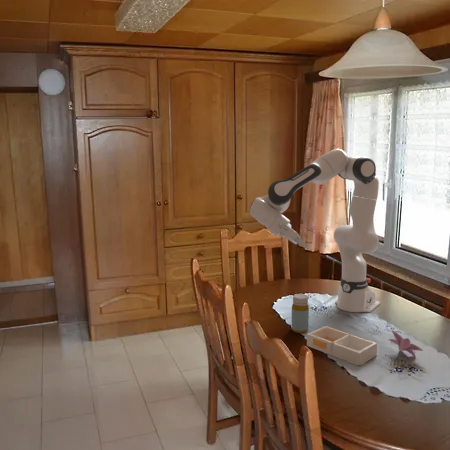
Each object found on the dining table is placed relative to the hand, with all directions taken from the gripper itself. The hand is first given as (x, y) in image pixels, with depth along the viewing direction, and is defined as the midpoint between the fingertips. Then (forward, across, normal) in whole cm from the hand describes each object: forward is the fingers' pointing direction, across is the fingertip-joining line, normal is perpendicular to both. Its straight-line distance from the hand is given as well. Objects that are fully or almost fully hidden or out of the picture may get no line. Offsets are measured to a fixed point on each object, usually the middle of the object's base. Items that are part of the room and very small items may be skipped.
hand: (306, 246), depth 200 cm
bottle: (+20, +4, +29) cm, 36 cm away
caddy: (+36, -12, +23) cm, 44 cm away
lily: (+54, -12, +10) cm, 57 cm away
